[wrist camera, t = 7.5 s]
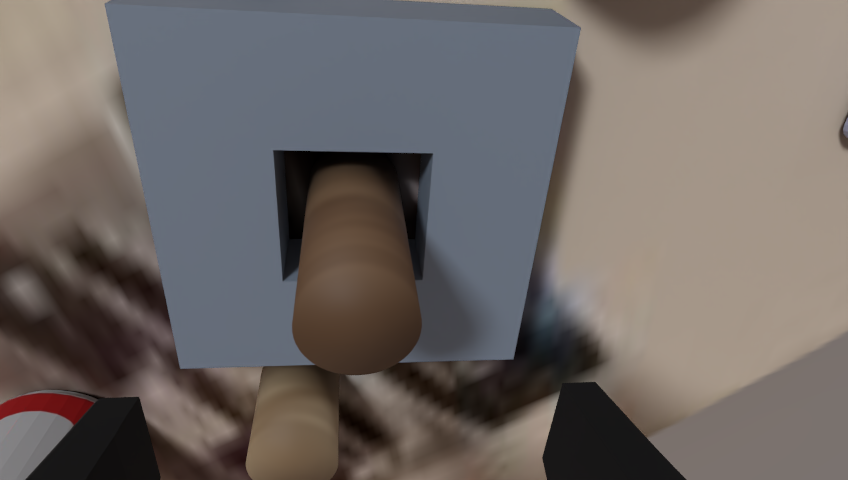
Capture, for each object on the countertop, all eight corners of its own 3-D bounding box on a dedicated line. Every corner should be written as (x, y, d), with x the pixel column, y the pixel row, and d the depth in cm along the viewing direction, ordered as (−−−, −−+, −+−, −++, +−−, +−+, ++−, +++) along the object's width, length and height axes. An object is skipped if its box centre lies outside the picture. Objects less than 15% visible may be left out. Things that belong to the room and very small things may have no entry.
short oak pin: (339, 347, 22) (337, 432, 19) (339, 402, 24) (338, 490, 20) (257, 349, 22) (241, 436, 18) (264, 405, 23) (250, 495, 20)
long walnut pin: (396, 221, 19) (418, 372, 13) (311, 222, 19) (296, 378, 13) (399, 142, 18) (424, 273, 12) (306, 142, 17) (287, 277, 12)
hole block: (551, 8, 16) (580, 27, 14) (498, 314, 22) (513, 359, 20) (137, -14, 15) (104, 3, 13) (197, 320, 21) (180, 368, 18)
